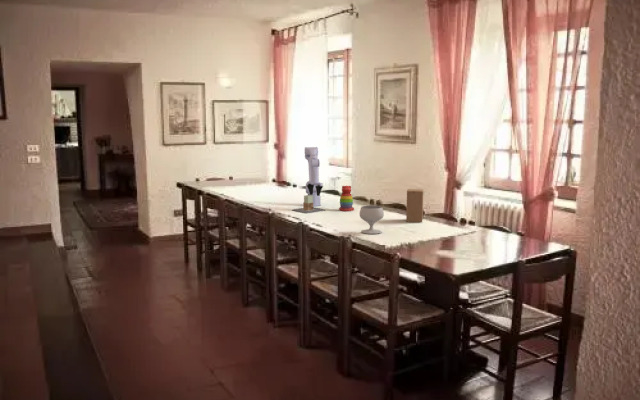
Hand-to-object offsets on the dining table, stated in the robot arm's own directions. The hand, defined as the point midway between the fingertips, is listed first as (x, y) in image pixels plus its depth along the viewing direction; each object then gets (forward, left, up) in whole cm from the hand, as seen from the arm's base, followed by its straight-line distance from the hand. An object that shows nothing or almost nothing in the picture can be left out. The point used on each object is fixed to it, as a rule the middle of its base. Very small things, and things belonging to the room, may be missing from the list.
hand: (314, 195), depth 403 cm
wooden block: (-18, +76, -11) cm, 79 cm away
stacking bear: (-14, +18, -11) cm, 25 cm away
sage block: (+6, 0, -5) cm, 8 cm away
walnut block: (+6, 0, -10) cm, 12 cm away
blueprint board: (+6, 0, -10) cm, 12 cm away
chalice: (+28, +81, -11) cm, 86 cm away
